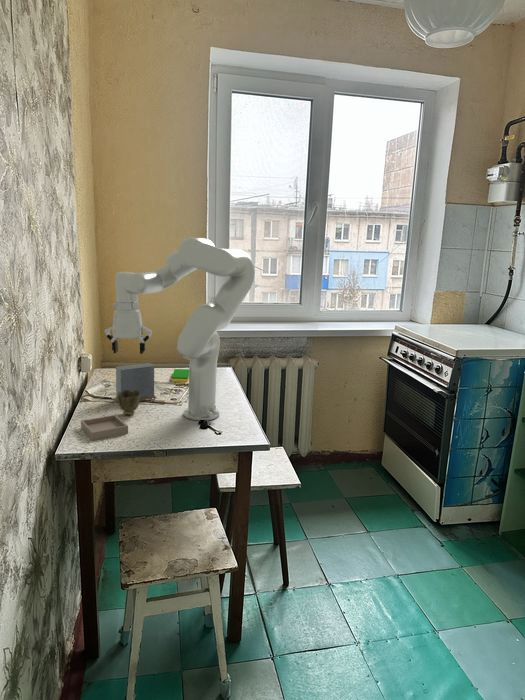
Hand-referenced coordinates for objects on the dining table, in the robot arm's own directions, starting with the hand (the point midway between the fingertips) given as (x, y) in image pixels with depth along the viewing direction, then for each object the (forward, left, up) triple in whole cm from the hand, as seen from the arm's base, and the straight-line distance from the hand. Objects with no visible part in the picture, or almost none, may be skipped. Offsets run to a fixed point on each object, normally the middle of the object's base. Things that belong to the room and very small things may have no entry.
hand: (128, 352), depth 178 cm
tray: (-24, +18, -18) cm, 35 cm away
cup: (-14, +6, -19) cm, 24 cm away
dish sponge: (+19, -31, -19) cm, 41 cm away
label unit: (0, -2, -18) cm, 19 cm away
